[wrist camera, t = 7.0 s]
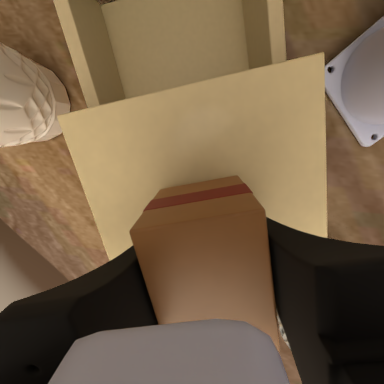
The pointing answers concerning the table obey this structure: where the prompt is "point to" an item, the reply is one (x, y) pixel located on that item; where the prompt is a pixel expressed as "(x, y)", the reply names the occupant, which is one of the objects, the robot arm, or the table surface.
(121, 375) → the robot arm
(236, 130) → the shallow tan box
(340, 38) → the table surface
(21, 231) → the table surface
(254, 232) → the packet
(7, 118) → the white cup
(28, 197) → the table surface
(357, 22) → the table surface
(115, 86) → the drawer
